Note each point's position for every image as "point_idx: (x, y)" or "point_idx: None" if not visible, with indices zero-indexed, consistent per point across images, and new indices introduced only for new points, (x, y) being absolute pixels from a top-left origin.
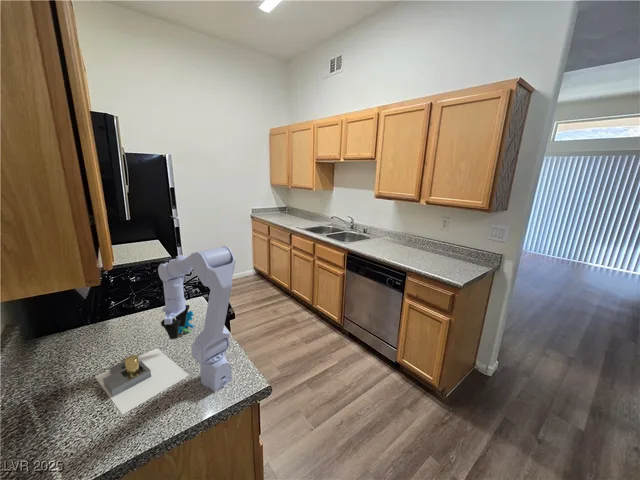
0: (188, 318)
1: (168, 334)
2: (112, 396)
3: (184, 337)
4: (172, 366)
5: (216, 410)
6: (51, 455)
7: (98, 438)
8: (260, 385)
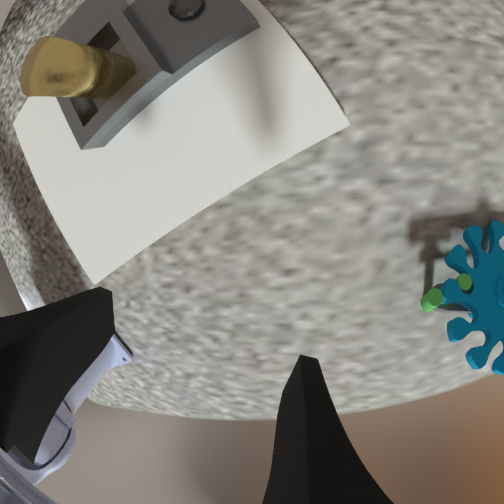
0: (491, 342)
1: (58, 302)
2: None
3: (417, 269)
4: (143, 225)
5: None
6: (7, 41)
7: (2, 100)
8: (87, 396)
